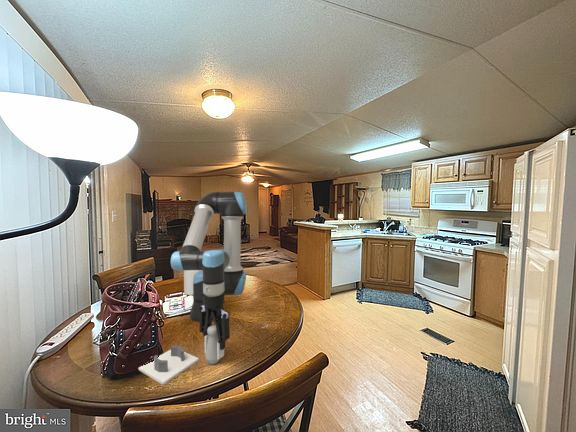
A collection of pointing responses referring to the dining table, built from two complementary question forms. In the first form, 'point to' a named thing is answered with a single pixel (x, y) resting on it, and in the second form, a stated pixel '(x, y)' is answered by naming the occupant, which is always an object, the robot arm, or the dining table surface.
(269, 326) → the dining table surface
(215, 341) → the salt shaker
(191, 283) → the can
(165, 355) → the square base with blocks
